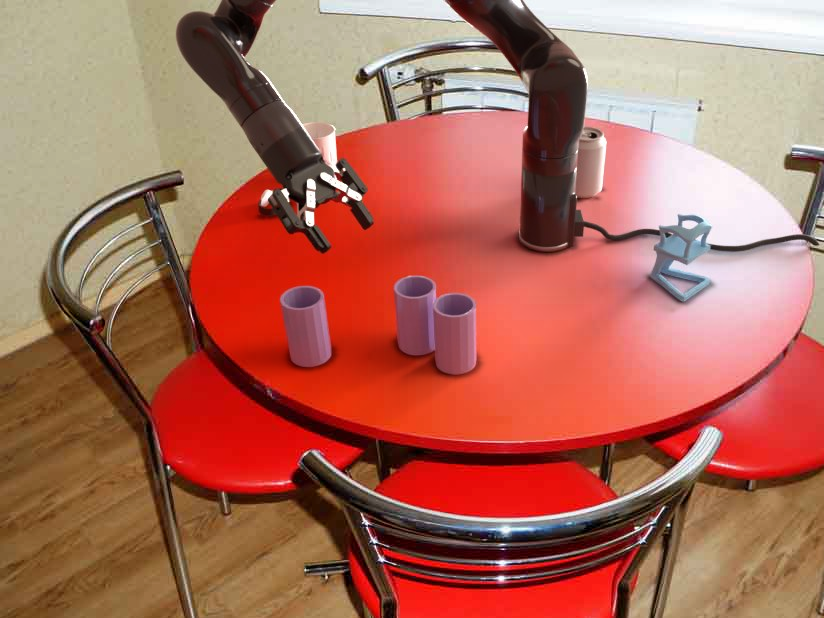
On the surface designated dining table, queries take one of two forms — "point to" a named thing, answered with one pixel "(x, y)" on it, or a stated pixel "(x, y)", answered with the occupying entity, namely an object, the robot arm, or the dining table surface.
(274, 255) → the dining table surface
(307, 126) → the white cup
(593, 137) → the can
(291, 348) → the end cup
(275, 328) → the dining table surface
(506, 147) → the dining table surface
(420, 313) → the middle cup
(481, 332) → the dining table surface
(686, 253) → the chair
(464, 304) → the cup
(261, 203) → the watch
